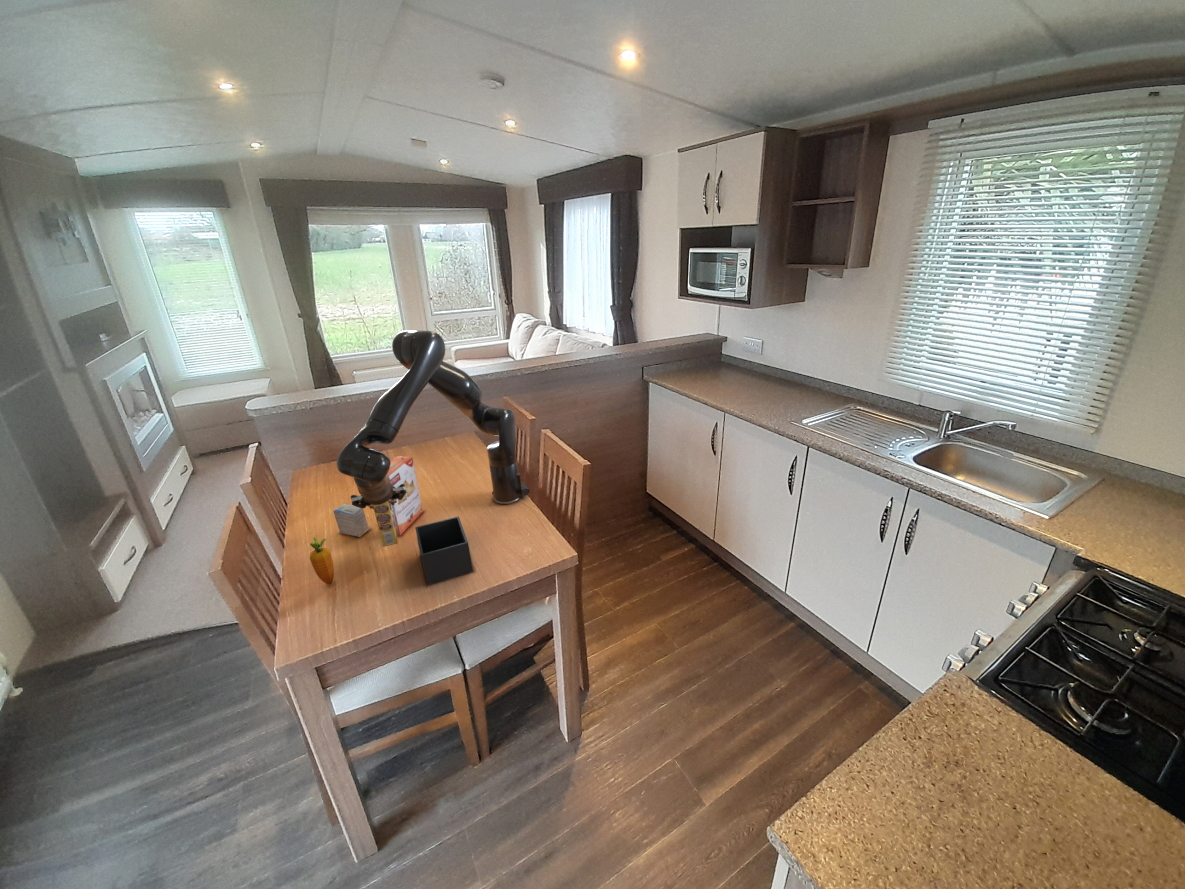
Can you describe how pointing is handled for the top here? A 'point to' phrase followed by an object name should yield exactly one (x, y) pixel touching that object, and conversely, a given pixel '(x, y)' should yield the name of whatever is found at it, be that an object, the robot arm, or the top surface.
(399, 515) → the cracker box
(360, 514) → the medicine box
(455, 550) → the waste bin
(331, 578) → the carrot
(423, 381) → the robot arm
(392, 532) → the candy box
